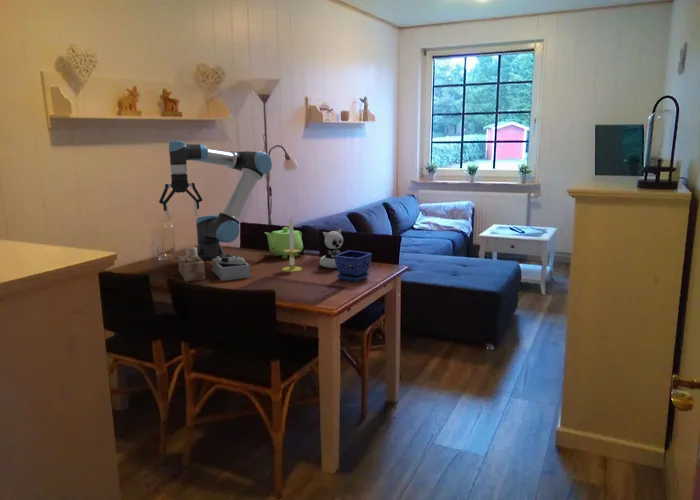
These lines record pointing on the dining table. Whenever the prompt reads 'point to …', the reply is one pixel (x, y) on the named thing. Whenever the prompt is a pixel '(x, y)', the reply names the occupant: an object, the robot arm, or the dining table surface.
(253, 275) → the dining table surface
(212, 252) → the robot arm
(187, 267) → the beige slotted holder
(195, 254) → the cream rounded upright piece
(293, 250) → the candle
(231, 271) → the caddy
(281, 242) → the teapot
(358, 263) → the flower pot
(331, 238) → the decorative figurine
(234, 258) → the camera
